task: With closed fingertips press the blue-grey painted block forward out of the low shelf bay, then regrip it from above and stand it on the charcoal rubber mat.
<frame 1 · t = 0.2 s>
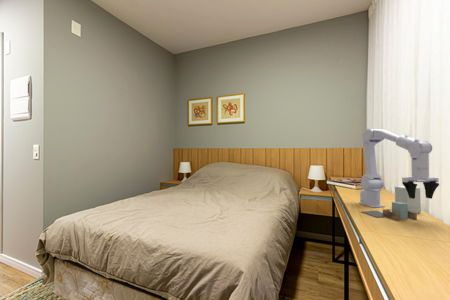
hand: (420, 198, 93), 10 cm above the table, tool pointing down, fingers open, 7 cm apart
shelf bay: (399, 217, 96), on the table
mat: (376, 214, 101), on the table
supplement box: (407, 211, 107), on the table
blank: (399, 217, 96), on the table
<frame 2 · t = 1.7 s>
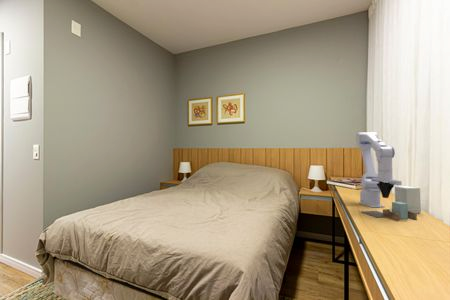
hand: (385, 197, 103), 8 cm above the table, tool pointing down, fingers closed
nothing on the table moved.
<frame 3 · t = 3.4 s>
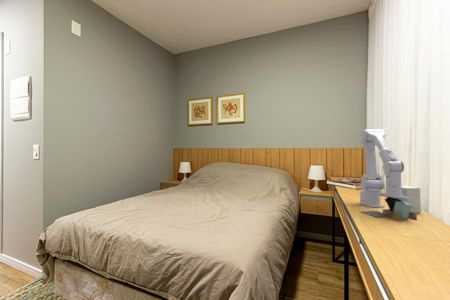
hand: (394, 213, 99), 1 cm above the table, tool pointing down, fingers closed
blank: (399, 216, 96), on the table, tilted 15°
everything else where it was.
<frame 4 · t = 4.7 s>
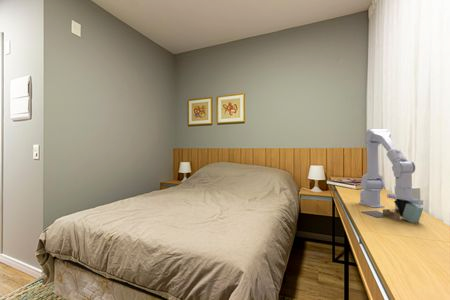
hand: (404, 216, 94), 1 cm above the table, tool pointing down, fingers closed
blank: (410, 219, 91), point 1 cm above the table, tilted 16°, touching gripper
everything else where it was.
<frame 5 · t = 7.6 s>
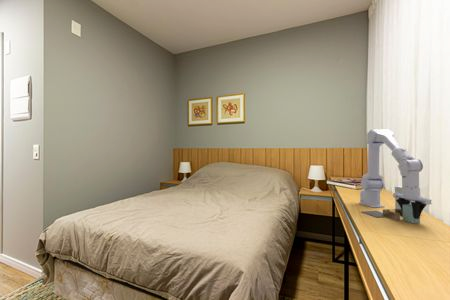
hand: (411, 216, 91), 2 cm above the table, tool pointing down, fingers closed on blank, 4 cm apart
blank: (411, 221, 91), on the table, touching gripper
everything else where it was.
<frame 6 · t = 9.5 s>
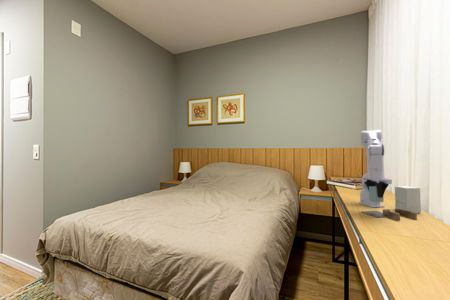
hand: (376, 196, 101), 9 cm above the table, tool pointing down, fingers closed on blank, 4 cm apart
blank: (376, 201, 101), point 7 cm above the table, touching gripper
everything else where it was.
when the fingers open (3 cm above the table, at t = 11.0 s): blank stays where it is, resting on mat.
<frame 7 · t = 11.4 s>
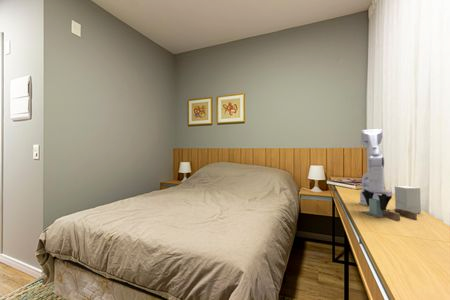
hand: (376, 207, 101), 3 cm above the table, tool pointing down, fingers open, 7 cm apart
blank: (376, 213, 101), resting on mat
everything else where it was.
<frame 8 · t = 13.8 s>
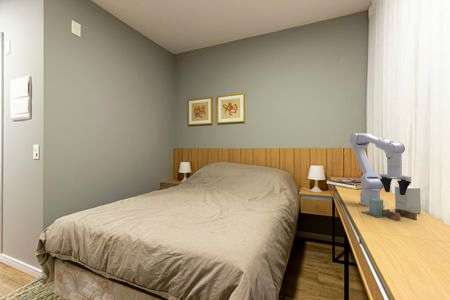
hand: (394, 193, 103), 10 cm above the table, tool pointing down, fingers open, 7 cm apart
nothing on the table moved.
at the end: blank inside the target area on the mat (0.1 cm from its centre), point 0.4 cm above the mat's base; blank tilted 0°; the gripper is holding nothing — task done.
